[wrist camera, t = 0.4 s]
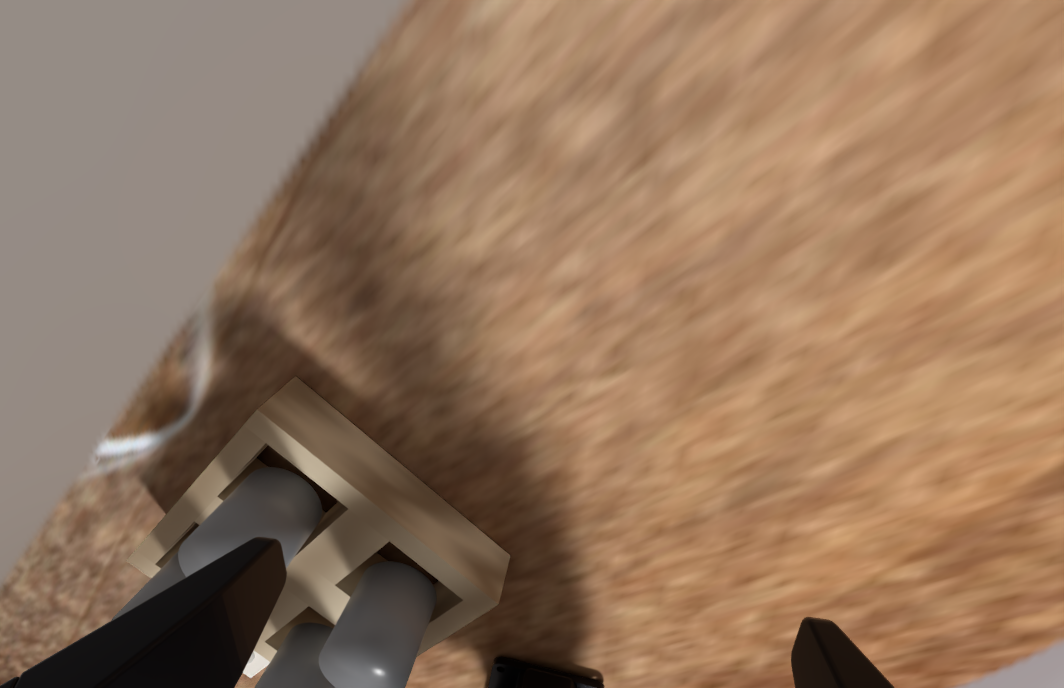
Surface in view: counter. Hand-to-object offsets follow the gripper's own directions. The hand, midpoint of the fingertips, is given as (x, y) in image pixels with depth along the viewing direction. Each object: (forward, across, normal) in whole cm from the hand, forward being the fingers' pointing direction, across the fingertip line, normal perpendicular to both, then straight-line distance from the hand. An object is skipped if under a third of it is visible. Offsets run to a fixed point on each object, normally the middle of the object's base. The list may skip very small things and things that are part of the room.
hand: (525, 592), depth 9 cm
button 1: (+11, +13, +9) cm, 20 cm away
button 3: (+11, +8, +14) cm, 20 cm away
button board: (+14, +13, +14) cm, 24 cm away
